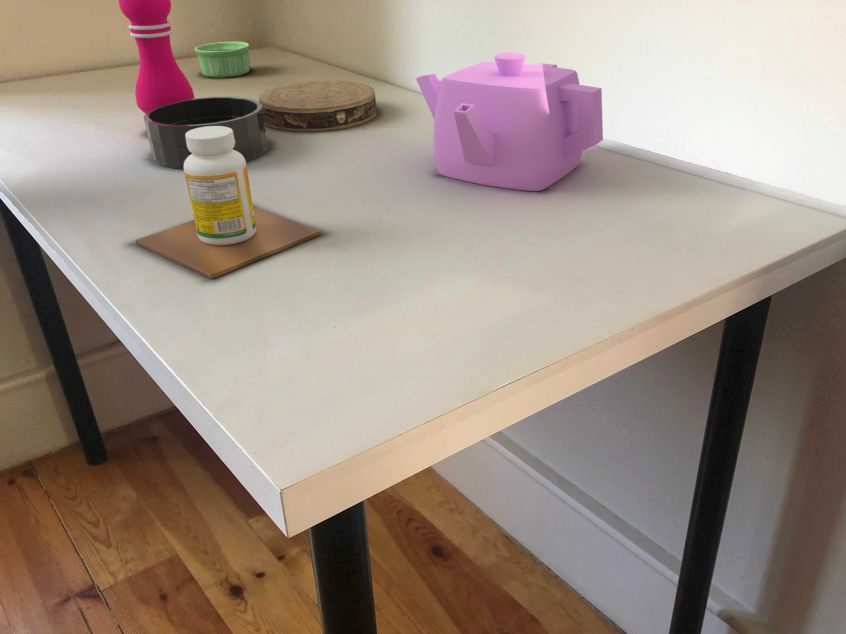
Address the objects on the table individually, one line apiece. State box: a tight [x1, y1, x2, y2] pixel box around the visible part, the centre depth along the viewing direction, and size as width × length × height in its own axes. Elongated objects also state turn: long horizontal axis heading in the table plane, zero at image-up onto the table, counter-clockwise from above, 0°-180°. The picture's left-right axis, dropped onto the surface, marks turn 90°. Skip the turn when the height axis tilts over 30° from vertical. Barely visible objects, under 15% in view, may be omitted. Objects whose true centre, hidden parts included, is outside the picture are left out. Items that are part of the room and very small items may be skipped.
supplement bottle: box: [183, 126, 256, 246], centre depth 71 cm, size 5×5×10 cm
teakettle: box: [415, 52, 604, 192], centre depth 86 cm, size 17×17×12 cm
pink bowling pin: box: [118, 0, 196, 114], centre depth 100 cm, size 7×7×20 cm
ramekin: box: [194, 40, 251, 79], centre depth 135 cm, size 9×9×4 cm
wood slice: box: [258, 80, 378, 133], centre depth 110 cm, size 16×16×3 cm
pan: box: [143, 96, 269, 170], centre depth 96 cm, size 14×14×5 cm
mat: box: [135, 206, 322, 280], centre depth 73 cm, size 12×12×1 cm
